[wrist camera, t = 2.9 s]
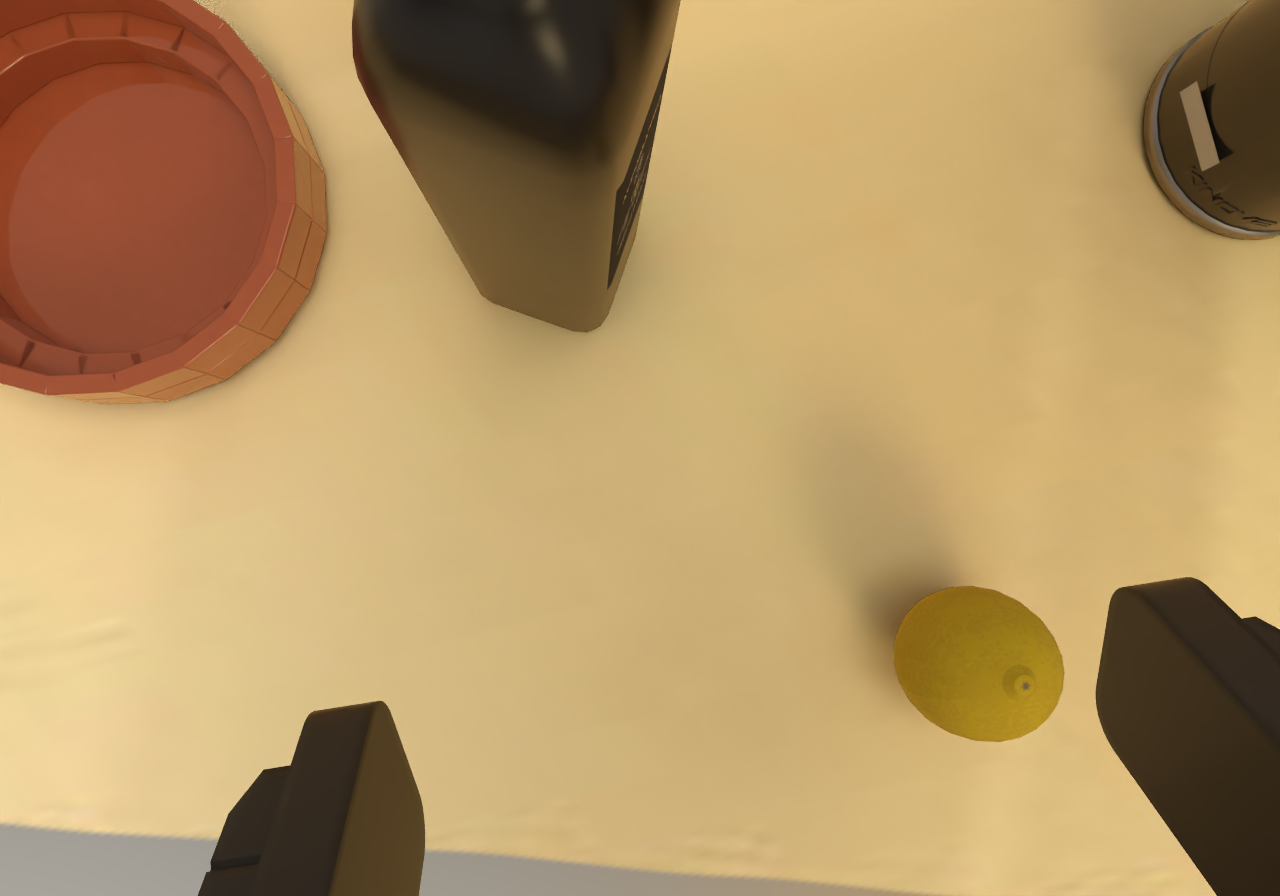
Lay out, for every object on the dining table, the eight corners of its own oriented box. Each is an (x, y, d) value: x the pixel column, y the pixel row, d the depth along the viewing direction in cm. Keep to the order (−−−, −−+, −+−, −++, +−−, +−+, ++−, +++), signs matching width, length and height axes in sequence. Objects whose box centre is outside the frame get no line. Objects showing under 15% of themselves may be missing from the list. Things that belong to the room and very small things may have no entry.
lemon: (888, 724, 38) (969, 790, 30) (853, 595, 38) (924, 626, 30) (1012, 688, 38) (1125, 744, 30) (978, 560, 38) (1081, 582, 30)
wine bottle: (643, 214, 38) (853, -802, 8) (599, 342, 37) (638, -207, 8) (514, 168, 38) (221, -1065, 8) (468, 296, 37) (-26, -459, 7)
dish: (84, -45, 37) (14, -118, 32) (403, 163, 37) (378, 120, 33) (-140, 267, 36) (-244, 237, 31) (190, 477, 36) (134, 477, 32)
